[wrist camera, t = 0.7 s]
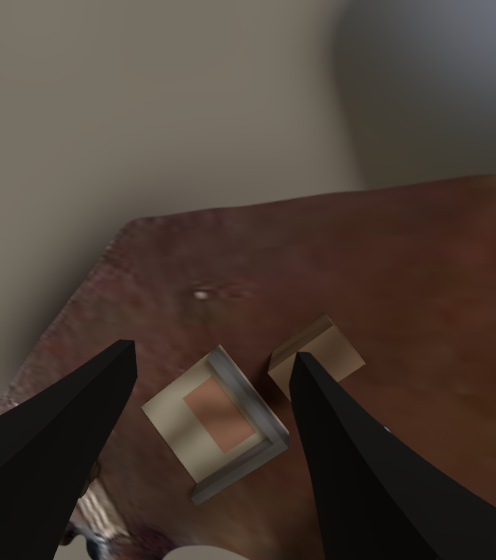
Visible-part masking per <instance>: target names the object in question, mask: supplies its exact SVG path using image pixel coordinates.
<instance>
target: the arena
mask: <svg viewBox="0 0 496 560" xmlns="http://www.w3.org/2000/svg"><path fill="white" fill-rule="evenodd" d="M141 408H142V409H143V411H144V412H145V414H146V415H147V416H148V418H149V419H150V420H151V422H152V423H153V424H154V426H155V427H156V428H157V430H158V431H159V433H160V434H161V435H162V437H163V438H164V439H165V441H166V442H167V443H168V445H169V446H170V448H171V449H172V450H173V452H174V453H175V454H176V456H177V457H178V458H179V460H180V461H181V463H182V464H183V465H184V467H185V468H186V469H187V471H188V472H189V473H190V475H191V476H192V477H193V479H194V480H195V482H196V483H197V485H196V487H195V489H194V492H193V494H192V496H191V500H192V501H193V502H194V504H195V505H196V506H197V505H199V504H201V503H202V502H204V501H205V500H207V499H209V498H210V497H212V496H213V495H215V494H216V493H218V492H220V491H221V490H223V489H224V488H226V487H228V486H229V485H231V484H232V483H234V482H236V481H237V480H239V479H240V478H242V477H244V476H245V475H247V474H248V473H250V472H251V471H253V470H255V469H256V468H258V467H259V466H261V465H263V464H264V463H266V462H267V461H269V460H271V459H272V458H274V457H275V456H277V455H279V454H280V453H282V452H283V451H285V450H286V449H288V448H289V432H288V430H287V429H286V428H285V426H284V425H283V424H282V423H281V421H280V420H279V419H278V418H277V416H276V415H275V414H274V412H273V411H272V410H271V409H270V407H269V406H268V405H267V404H266V402H265V401H264V400H263V398H262V397H261V396H260V395H259V393H258V392H257V391H256V389H255V388H254V387H253V386H252V384H251V383H250V382H249V381H248V379H247V378H246V377H245V375H244V374H243V373H242V372H241V370H240V369H239V368H238V367H237V365H236V364H235V363H234V361H233V360H232V359H231V358H230V356H229V355H228V354H227V353H226V351H225V350H224V349H223V347H222V346H221V345H218V346H217V347H216V348H215V349H213V350H212V351H211V352H210V353H208V354H207V355H206V356H205V357H203V358H202V359H201V360H200V361H198V362H197V363H196V364H195V365H193V366H192V367H191V368H190V369H188V370H187V371H186V372H184V373H183V374H182V375H181V376H179V377H178V378H177V379H176V380H174V381H173V382H172V383H171V384H169V385H168V386H167V387H166V388H164V389H163V390H162V391H161V392H159V393H158V394H157V395H156V396H154V397H153V398H152V399H151V400H149V401H148V402H147V403H146V404H144V405H143V406H142V407H141Z"/></svg>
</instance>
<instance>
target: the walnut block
mask: <svg viewBox="0 0 496 560" xmlns="http://www.w3.org/2000/svg"><path fill="white" fill-rule="evenodd" d="M297 351H299V352H310V353H311V354H312V355H313V356H314V357H315V358H316V360H317V361H318V362H319V363H320V364H321V365H322V366H323V367H324V368H325V370H326V371H327V372H328V373H329V374H330V375H331V376H332V377H333V378H334V379H335V381H336V382H339V381H340V380H342V379H343V378H345V377H346V376H348V375H349V374H351V373H352V372H354V371H355V370H357V369H358V368H360V367H361V366H363V365H364V364H365V362H364V361H363V360H362V358H361V357H360V356H359V354H358V353H357V351H356V350H355V349H354V347H353V346H352V345H351V343H350V342H349V341H348V340H347V339H346V337H345V336H344V335H343V334H342V333H341V331H340V330H339V329H338V328H337V327H336V325H335V324H334V323H333V322H332V321H331V319H330V318H329V317H328V316H327V315H326V314H325V313H323V314H322V315H320V316H319V317H318V318H316V319H315V320H314V321H312V322H311V323H310V324H308V325H307V326H306V327H304V328H303V329H302V330H300V331H299V332H298V333H296V334H295V335H294V336H292V337H291V338H290V339H288V340H287V341H286V342H284V343H283V344H281V345H280V346H279V347H277V348H276V349H275V350H273V352H272V356H271V360H270V365H269V369H268V374H269V375H270V376H271V378H272V379H273V380H274V381H275V383H276V384H277V385H278V386H279V388H280V389H281V390H282V391H283V393H284V394H285V395H286V397H287V398H288V399H289V400H290V402H291V398H290V391H289V381H290V377H291V373H292V369H293V365H294V361H295V357H296V353H297Z"/></svg>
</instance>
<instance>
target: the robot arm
mask: <svg viewBox="0 0 496 560" xmlns="http://www.w3.org/2000/svg"><path fill="white" fill-rule="evenodd" d="M137 377H138V376H137V365H136V354H135V342H134V340H121V339H120V340H118V341H117V342H115V343H114V344H112V345H111V346H109V347H108V348H106V349H105V350H104V351H102V352H101V353H99V354H98V355H96V356H95V357H94V358H92V359H91V360H89V361H88V362H86V363H85V364H83V365H82V366H81V367H79V368H78V369H76V370H75V371H73V372H72V373H70V374H69V375H67V376H65V377H64V378H62V379H61V380H59V381H58V382H56V383H54V384H53V385H51V386H50V387H48V388H47V389H45V390H43V391H42V392H40V393H39V394H37V395H35V396H34V397H32V398H30V399H29V400H27V401H25V402H23V403H22V404H20V405H18V406H16V407H14V408H13V409H11V410H9V411H7V412H5V413H4V414H2V415H0V560H53V558H54V555H55V553H56V551H57V548H58V546H59V543H60V541H61V538H62V536H63V534H64V531H65V529H66V527H67V524H68V522H69V519H70V517H71V515H72V512H73V510H74V508H75V505H76V503H77V501H78V498H79V496H80V494H81V492H82V489H83V487H84V485H85V483H86V480H87V478H88V476H89V473H90V471H91V469H92V467H93V465H94V463H95V461H96V459H97V457H98V456H99V454H100V452H101V450H102V448H103V446H104V444H105V443H106V441H107V439H108V437H109V435H110V433H111V432H112V430H113V428H114V426H115V424H116V422H117V420H118V419H119V417H120V415H121V413H122V411H123V409H124V407H125V405H126V403H127V401H128V399H129V397H130V395H131V392H132V390H133V387H134V384H135V382H136V379H137ZM289 391H290V398H291V404H292V409H293V413H294V417H295V420H296V424H297V428H298V431H299V435H300V439H301V442H302V446H303V449H304V453H305V457H306V460H307V464H308V468H309V472H310V476H311V481H312V486H313V492H314V497H315V502H316V507H317V513H318V519H319V524H320V530H321V536H322V541H323V547H324V554H325V560H496V507H494V506H493V505H491V504H489V503H488V502H486V501H485V500H483V499H481V498H480V497H478V496H477V495H475V494H474V493H472V492H471V491H469V490H468V489H466V488H465V487H463V486H462V485H460V484H459V483H457V482H456V481H454V480H453V479H452V478H450V477H449V476H447V475H446V474H444V473H443V472H441V471H440V470H439V469H437V468H436V467H434V466H433V465H432V464H430V463H429V462H427V461H426V460H425V459H423V458H422V457H421V456H420V455H418V454H417V453H416V452H414V451H413V450H412V449H410V448H409V447H408V446H406V445H405V444H404V443H403V442H401V441H400V440H399V439H398V438H396V437H395V436H394V435H393V434H392V433H391V432H390V431H389V430H388V429H387V428H386V427H383V426H382V425H381V424H380V423H379V422H378V421H376V420H375V419H374V418H373V417H372V416H371V415H370V414H369V413H367V412H366V411H365V410H364V409H363V408H362V407H361V406H360V405H359V404H358V403H357V402H356V401H355V400H354V399H353V398H352V397H351V396H350V395H349V394H348V393H347V392H346V391H345V390H344V389H343V388H342V387H341V386H340V385H339V384H338V383H337V382H336V381H335V379H334V378H333V377H332V376H331V375H330V374H329V373H328V372H327V371H326V370H325V368H324V367H323V366H322V365H321V364H320V363H319V362H318V361H317V360H316V358H315V357H314V356H313V355H312V354H311V353H310V352H299V351H297V353H296V357H295V361H294V365H293V369H292V373H291V377H290V381H289Z"/></svg>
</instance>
